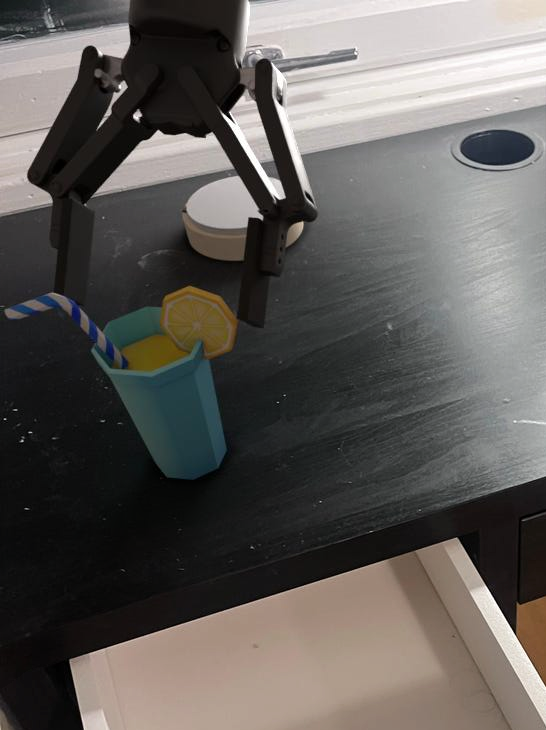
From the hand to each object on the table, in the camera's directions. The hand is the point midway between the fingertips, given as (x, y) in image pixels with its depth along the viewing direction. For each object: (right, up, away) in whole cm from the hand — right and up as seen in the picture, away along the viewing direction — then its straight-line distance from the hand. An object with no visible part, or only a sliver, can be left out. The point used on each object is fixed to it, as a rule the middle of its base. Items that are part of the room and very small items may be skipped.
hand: (158, 312), depth 68 cm
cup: (-1, -9, +7) cm, 11 cm away
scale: (0, +17, +27) cm, 32 cm away
